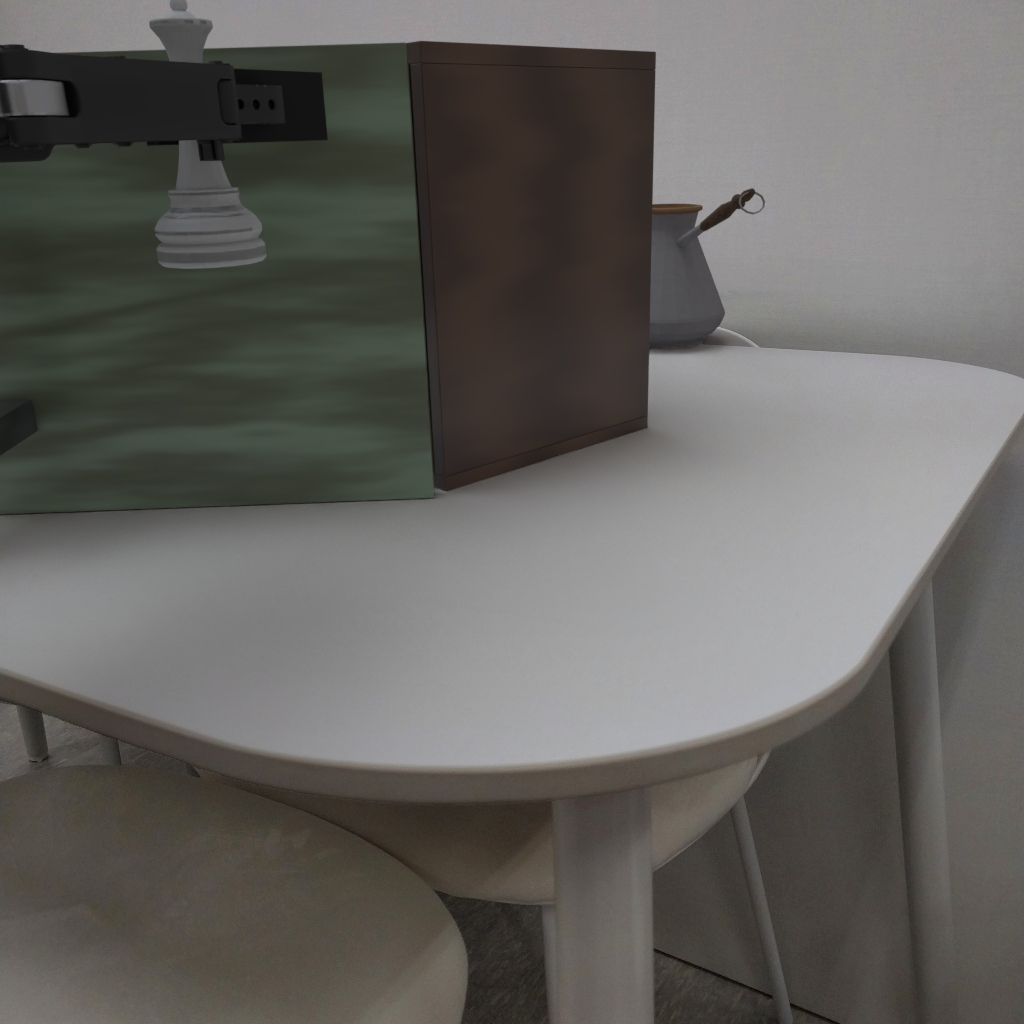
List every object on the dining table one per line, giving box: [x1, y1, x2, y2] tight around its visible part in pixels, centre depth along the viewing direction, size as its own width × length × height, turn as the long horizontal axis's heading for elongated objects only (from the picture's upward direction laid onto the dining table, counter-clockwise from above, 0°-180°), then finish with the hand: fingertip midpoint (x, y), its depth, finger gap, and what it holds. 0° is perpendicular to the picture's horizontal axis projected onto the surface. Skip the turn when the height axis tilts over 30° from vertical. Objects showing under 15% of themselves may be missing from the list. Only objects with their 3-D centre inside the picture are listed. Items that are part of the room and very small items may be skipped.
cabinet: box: [405, 40, 657, 493], centre depth 67 cm, size 18×26×24 cm
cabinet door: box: [0, 41, 436, 515], centre depth 49 cm, size 8×26×24 cm, turn 92°
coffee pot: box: [649, 187, 766, 350], centre depth 89 cm, size 21×12×15 cm, turn 17°
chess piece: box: [148, 0, 266, 269], centre depth 39 cm, size 4×4×10 cm
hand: (292, 108), depth 43 cm, fingers closed on chess piece, 2 cm apart
